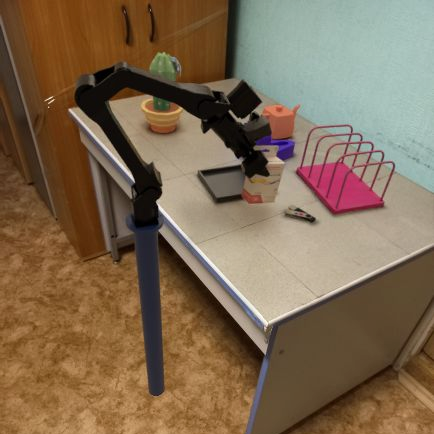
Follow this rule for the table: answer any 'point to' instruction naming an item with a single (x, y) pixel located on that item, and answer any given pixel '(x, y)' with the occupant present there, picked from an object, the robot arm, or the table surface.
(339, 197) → the file sorter
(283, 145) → the bracket
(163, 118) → the potted cactus
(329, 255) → the table surface
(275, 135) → the teapot
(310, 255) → the table surface
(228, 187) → the baking tray
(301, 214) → the usb flash drive
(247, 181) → the ink cartridge box
